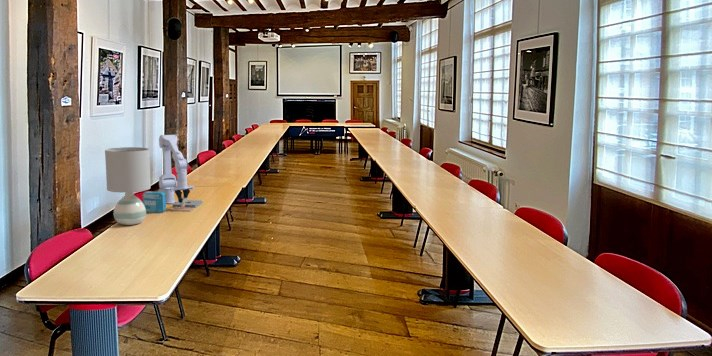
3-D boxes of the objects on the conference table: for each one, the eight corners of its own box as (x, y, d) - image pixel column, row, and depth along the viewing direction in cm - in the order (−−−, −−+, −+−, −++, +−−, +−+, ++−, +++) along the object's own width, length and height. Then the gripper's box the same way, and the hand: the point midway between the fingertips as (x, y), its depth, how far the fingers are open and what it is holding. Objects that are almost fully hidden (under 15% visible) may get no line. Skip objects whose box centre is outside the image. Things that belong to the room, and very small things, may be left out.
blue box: (143, 212, 320) (142, 192, 318) (146, 210, 324) (145, 191, 322) (163, 213, 319) (162, 193, 317) (166, 211, 324) (165, 191, 322)
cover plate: (172, 207, 334) (172, 204, 334) (180, 202, 348) (180, 199, 348) (195, 208, 334) (195, 205, 334) (202, 203, 348) (202, 200, 348)
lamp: (99, 225, 288) (95, 150, 281) (129, 217, 308) (126, 146, 301) (131, 230, 280) (128, 152, 274) (160, 221, 300) (157, 148, 294)
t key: (178, 206, 331) (177, 196, 330) (182, 205, 332) (181, 196, 331) (183, 208, 326) (183, 198, 325) (187, 207, 327) (187, 198, 326)
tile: (170, 210, 325) (170, 209, 325) (175, 207, 333) (175, 207, 333) (190, 211, 325) (190, 210, 325) (194, 208, 333) (194, 207, 333)
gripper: (173, 182, 318) (174, 204, 321) (196, 179, 328) (196, 201, 331) (168, 180, 324) (168, 202, 326) (190, 178, 333) (191, 199, 336)
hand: (182, 201), depth 328 cm, fingers closed on t key, 3 cm apart
